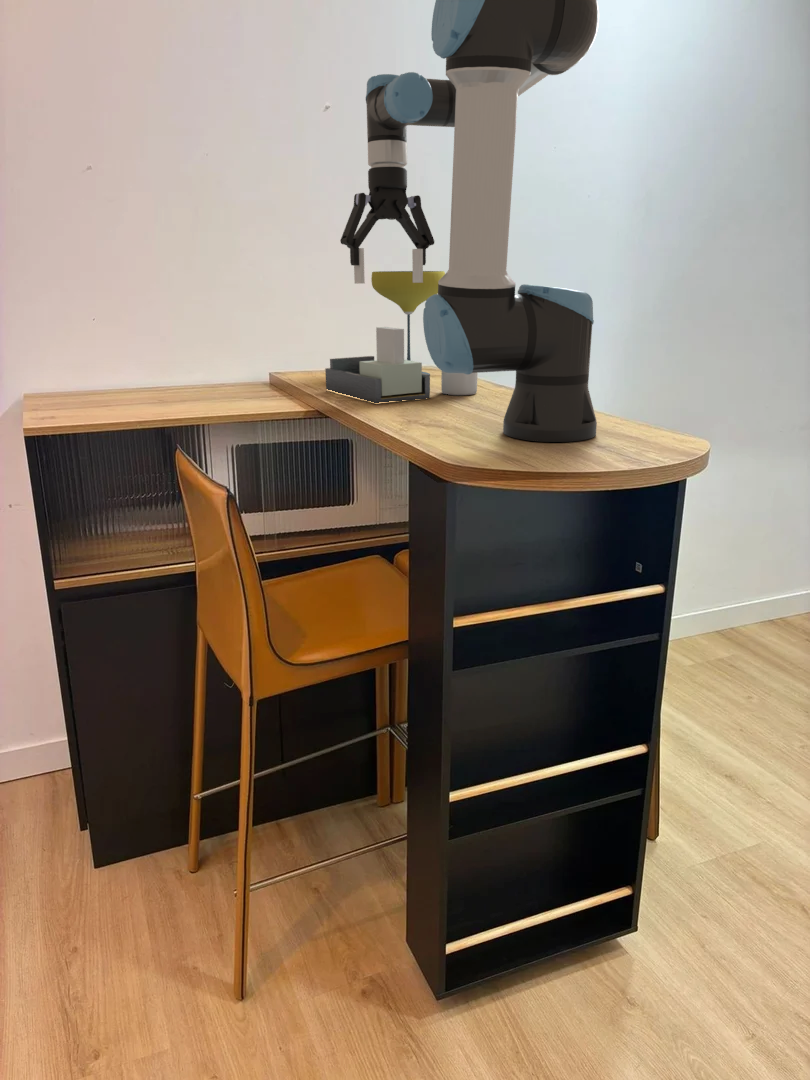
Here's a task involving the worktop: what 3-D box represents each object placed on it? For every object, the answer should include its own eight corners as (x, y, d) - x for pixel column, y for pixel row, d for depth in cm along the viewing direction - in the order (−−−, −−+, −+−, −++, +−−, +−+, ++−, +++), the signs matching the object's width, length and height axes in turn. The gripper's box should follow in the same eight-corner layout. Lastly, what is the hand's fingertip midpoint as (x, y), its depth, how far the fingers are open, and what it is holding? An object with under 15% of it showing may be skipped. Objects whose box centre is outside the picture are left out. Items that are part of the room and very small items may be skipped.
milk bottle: (478, 396, 174) (480, 298, 168) (441, 396, 175) (442, 298, 168) (475, 390, 182) (477, 296, 175) (440, 390, 182) (441, 296, 176)
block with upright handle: (421, 392, 170) (421, 328, 166) (381, 396, 165) (380, 330, 161) (398, 386, 177) (398, 325, 173) (360, 390, 173) (358, 327, 169)
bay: (429, 398, 171) (429, 364, 169) (375, 404, 165) (375, 369, 162) (376, 386, 189) (376, 355, 187) (326, 391, 182) (325, 359, 180)
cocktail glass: (457, 373, 210) (458, 271, 202) (420, 381, 196) (421, 271, 188) (397, 369, 220) (397, 271, 212) (359, 377, 205) (356, 271, 197)
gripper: (430, 173, 167) (430, 282, 174) (320, 166, 155) (325, 283, 161) (451, 169, 161) (451, 282, 168) (339, 161, 149) (342, 283, 155)
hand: (389, 283), depth 164 cm, fingers open, 13 cm apart
